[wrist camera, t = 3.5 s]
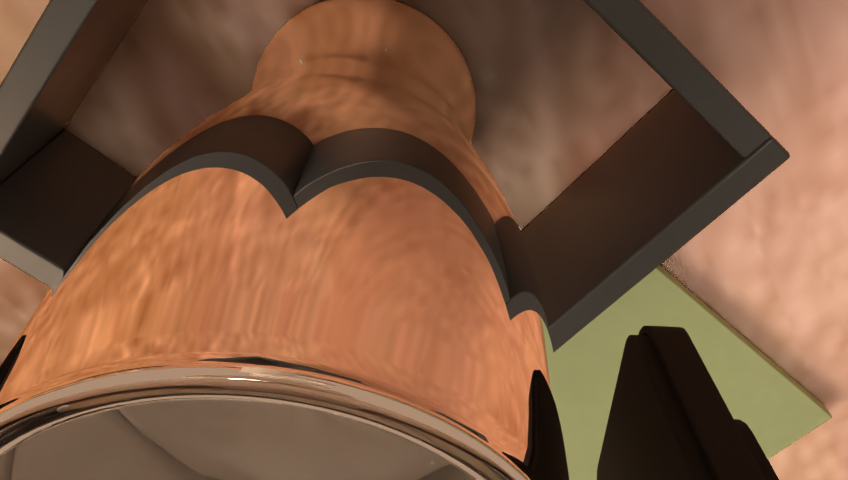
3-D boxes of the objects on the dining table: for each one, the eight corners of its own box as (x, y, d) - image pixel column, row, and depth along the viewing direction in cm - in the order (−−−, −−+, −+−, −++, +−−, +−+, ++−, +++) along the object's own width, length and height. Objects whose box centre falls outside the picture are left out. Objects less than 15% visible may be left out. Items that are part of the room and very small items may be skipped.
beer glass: (531, 156, 21) (706, 715, 8) (323, 253, 22) (182, 848, 9) (417, -78, 18) (391, 201, 5) (186, 54, 19) (-305, 530, 6)
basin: (314, -321, 15) (270, -377, 11) (712, 83, 20) (792, 156, 15) (29, 130, 20) (-77, 213, 16) (396, 372, 25) (390, 489, 20)
